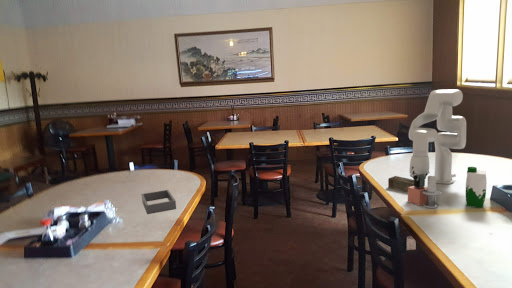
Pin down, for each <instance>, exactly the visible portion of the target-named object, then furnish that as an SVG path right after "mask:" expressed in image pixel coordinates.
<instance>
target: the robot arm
mask: <svg viewBox="0 0 512 288" xmlns="http://www.w3.org/2000/svg"><path fill="white" fill-rule="evenodd" d="M463 97H464V95H463V91H461V90H460V89H437V90H436V89H434V90H431V92H430V93H429V96H428V98H427V102H426V105H425V109H424V111H423V112H422V113H420V114H419V115H417V117H415V119H413V120H412V122H411V123H410V127H409V129H408V138H409V140H410V141H412V156H411V157H410V160H409V161H410V162H409V176H410V177H411V179H412V180H414V186H415V187H418V188H419V187H420V180H419V175H421V174H424V187H426V179H427V177H428V176H429V174H430V157H429V152H430V151H429V143H434V148H435V150H434V151H435V154H434V155H435V156H434V175H433V176H436V184H441V185H450V184H453V183H454V182H455V180H454V179H453V178H456V176H457V175H456V174H455V173H453V174H452V168H453V167H452V164H453V154H452V151H451V150H450V149H454V150H461V149H462V150H463V149H464V148H465V147H466V144H467V120H466V118H465V116H461V115H453V107H457V106H458V105H460V104H461V103H462V102H463ZM435 120H436V127H437V129H438V131H442V132H438V131H437V130H436V129H435V128H430V127H429V128H428V127H421V126H422V125H424V124H427V123H430V122H433V121H435ZM416 176H417V177H416Z"/></svg>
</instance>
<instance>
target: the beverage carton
mask: <svg viewBox="0 0 512 288" xmlns="http://www.w3.org/2000/svg"><path fill="white" fill-rule="evenodd" d="M387 180H388V181H387V185H388V186H387V187H388V188H390V189H395V190H398V191H402V190H403V192H407V193H408V187H411V186H414V179H413V178H407V177H401V176H397V175H394V176H391V177H389V178H388V179H387Z"/></svg>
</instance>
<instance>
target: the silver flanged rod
mask: <svg viewBox="0 0 512 288" xmlns="http://www.w3.org/2000/svg"><path fill="white" fill-rule="evenodd" d="M426 187H427V189H426V190H427V191H424V190H425V189H424V190H422V193H423V194H425V195H427V203H425V204H423V206H424V207H425V208H427V209H428V208H429V209H437V208H438V207H439V205H438V204H436V199H437V198H436V197H438V196H441V195H442V192H441V190H438V189H437V183H436V176H434V175H427V186H426Z"/></svg>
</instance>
